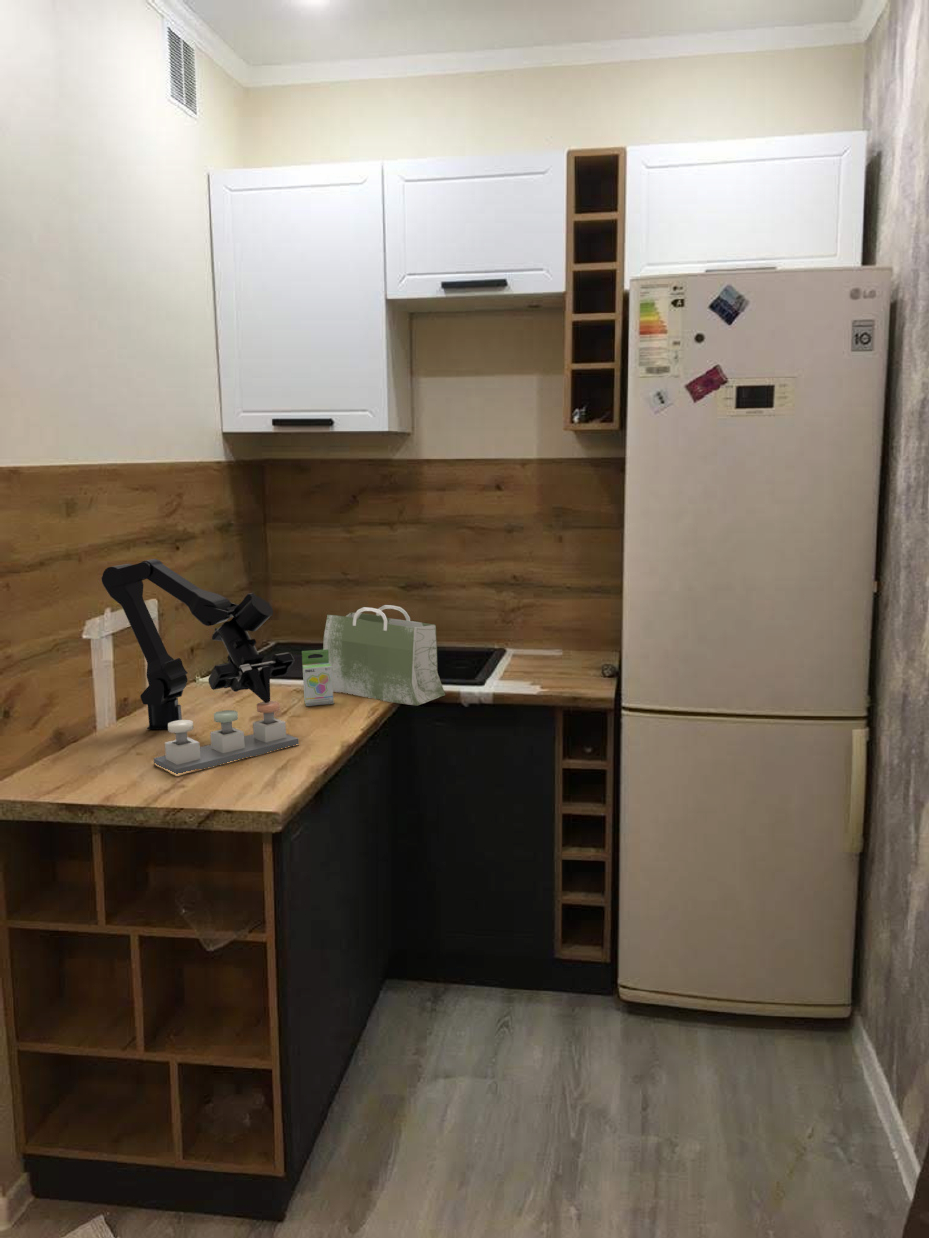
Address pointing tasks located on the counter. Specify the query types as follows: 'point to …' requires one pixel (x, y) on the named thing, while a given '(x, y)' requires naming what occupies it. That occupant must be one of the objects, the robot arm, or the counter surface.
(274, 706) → the terracotta button
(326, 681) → the ink box
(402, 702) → the grocery bag
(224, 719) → the sage button
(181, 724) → the cream button
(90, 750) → the counter surface
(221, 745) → the console
